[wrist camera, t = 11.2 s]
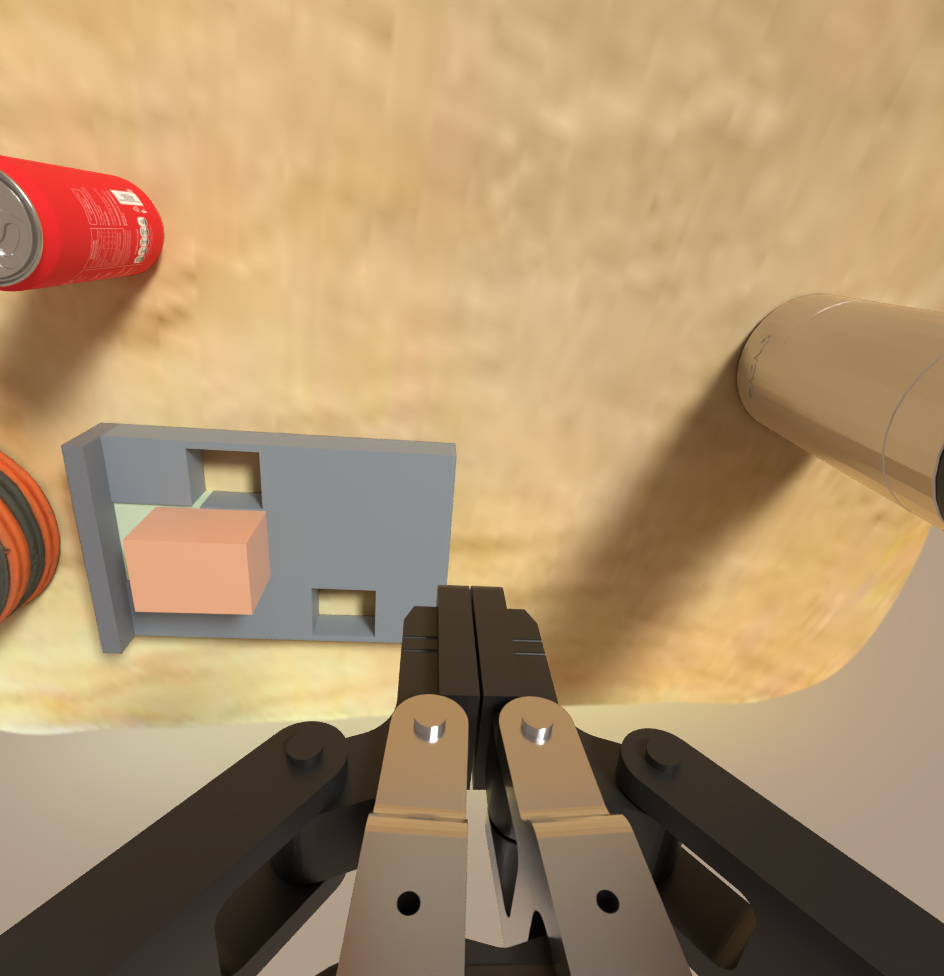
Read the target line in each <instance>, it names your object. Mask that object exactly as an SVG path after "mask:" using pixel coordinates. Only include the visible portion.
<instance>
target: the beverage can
mask: <svg viewBox="0 0 944 976" xmlns="http://www.w3.org/2000/svg"><path fill="white" fill-rule="evenodd" d="M163 243H164V226H163V222H162V219H161V217H160V215H159V213H158V211H157V209H156V208H155V206H154V205H153V203H152V202H151V200H150V199H149V198H148V197H147V195H146V194H145V193H144V192H143V191H142V190H140V189H139V188H138V187H137V186H135V185H134V184H132V183H131V182H129V181H127V180H125V179H123V178H120V177H117V176H113V175H107V174H102V173H96V172H91V171H85V170H79V169H74V168H68V167H63V166H57V165H51V164H46V163H40V162H35V161H29V160H24V159H18V158H12V157H7V156H1V155H0V290H2V291H23V290H30V289H37V288H45V287H52V286H59V285H66V284H73V283H80V282H88V281H95V280H102V279H109V278H116V277H123V276H130V275H136V274H139V273H142V272H144V271H146V270H147V269H149V268H150V267H151V266H152V265H153V264H154V263H155V262H156V260H157V259H158V257H159V255H160V253H161V250H162V247H163Z"/></svg>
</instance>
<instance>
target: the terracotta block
mask: <svg viewBox="0 0 944 976" xmlns="http://www.w3.org/2000/svg"><path fill="white" fill-rule="evenodd" d="M122 541H123V546H124V552H125V557H126V563H127V568H128V574H129V579H130V585H131V591H132V596H133V602H134V607H135V612H168V613H206V614H244V615H252V614H253V612H254V610H255V608H256V606H257V604H258V602H259V600H260V597H261V595H262V593H263V591H264V589H265V587H266V585H267V583H268V581H269V579H270V576H271V574H270V560H269V546H268V532H267V518H266V511H246V510H221V509H197V508H172V507H155V508H154V509H153V510H152V511H151V512H150V513H149V514H148V515H147V516H146V517H145V518H144V519H143V520H142V521H141V522H140V523H139V524H138V525H137V526H136V527H135V528H134V529H133V530H132V531H131V532H130V533H129V534H128V535H127V536H126V537H125V538H124V539H123V540H122Z"/></svg>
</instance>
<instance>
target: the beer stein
mask: <svg viewBox="0 0 944 976" xmlns="http://www.w3.org/2000/svg"><path fill="white" fill-rule="evenodd" d="M59 552H60V536H59V531H58V525H57V521H56V518H55V515H54V512H53V510H52V507H51V506H50V503H49V501H48V499H47V498H46V496H45V495H44V493H43V491H42V490H41V488H40V487H39V485H38V484H37V483H36V482H35V480H34V479H33V478H32V477H31V476H30V475H29V474H28V473H27V472H26V471H25V470H24V469H23V468H22V467H21V466H19V465H18V464H17V463H16V462H15V461H13V460H12V459H11V458H9V457H8V456H7V455H5V454H4V453H2V452H1V451H0V623H1V622H2V621H3V620H4V619H5V618H7V617H8V616H10V615H11V614H12V613H13V612H14V611H16V610H17V609H19V608H20V607H22V606H24V605H25V604H27V603H28V602H30V601H31V600H32V599H33V598H35V597H36V596H37V595H38V594H40V593H41V592H42V591H43V590H44V588H45V587H46V586H47V584H48V583H49V582H50V580H51V578H52V577H53V575H54V572H55V569H56V566H57V562H58V558H59Z"/></svg>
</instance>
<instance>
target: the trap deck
mask: <svg viewBox="0 0 944 976" xmlns="http://www.w3.org/2000/svg"><path fill="white" fill-rule="evenodd" d="M61 448H62V453H63V458H64V463H65V468H66V473H67V478H68V483H69V488H70V493H71V498H72V502H73V507H74V512H75V517H76V522H77V527H78V532H79V537H80V542H81V547H82V552H83V556H84V561H85V566H86V571H87V576H88V581H89V586H90V591H91V596H92V601H93V606H94V610H95V615H96V620H97V625H98V630H99V635H100V640H101V645H102V650H103V653H121V654H122V652H123V651H124V650H125V648H126V647H127V646H128V644H129V643H130V641H131V640H132V639H133V637H134V636H135V635H145V636H179V637H214V638H248V639H282V640H317V641H351V642H386V643H402V636H403V623H404V619H405V617H406V616H407V615H408V613H409V612H410V611H411V609H412V608H413V607H414V606H431V607H436V601H437V588H438V585H447V574H448V561H449V548H450V535H451V522H452V509H453V495H454V482H455V469H456V446H455V443H438V442H421V441H404V440H387V439H370V438H353V437H336V436H318V435H301V434H284V433H267V432H250V431H233V430H216V429H199V428H181V427H164V426H147V425H130V424H113V423H100V424H98V425H96V426H94V427H93V428H91V429H89V430H87V431H86V432H84V433H82V434H80V435H79V436H77V437H75V438H73V439H72V440H70V441H68V442H66V443H65V444H63V445H61ZM201 449H207V450H225V451H243V452H259V459H260V475H261V490H262V493H242V492H222V491H206V489H205V479H204V470H203V460H202V451H201ZM155 507H172V508H197V509H221V510H246V511H266V518H267V532H268V546H269V560H270V574H271V576H270V579H269V581H268V583H267V585H266V587H265V589H264V591H263V593H262V595H261V597H260V600H259V602H258V604H257V606H256V608H255V610H254V612H253V614H252V615H244V614H206V613H168V612H135V607H134V602H133V596H132V591H131V585H130V579H129V574H128V568H127V563H126V557H125V552H124V546H123V541H122V540H123V539H124V538H125V537H126V536H127V535H128V534H129V533H130V532H131V531H132V530H133V529H134V528H135V527H136V526H137V525H138V524H139V523H140V522H141V521H142V520H143V519H144V518H145V517H146V516H147V515H148V514H149V513H150V512H151V511H152V510H153V509H154V508H155ZM318 589H344V590H371V591H376V606H375V616H350V615H319V598H318Z"/></svg>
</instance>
